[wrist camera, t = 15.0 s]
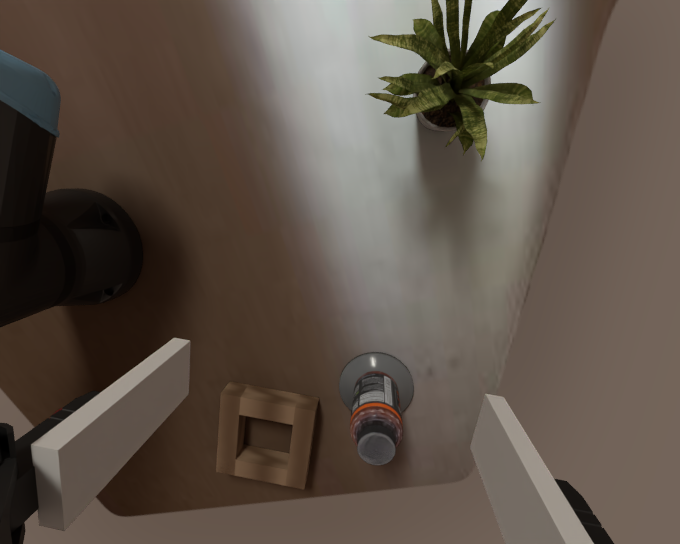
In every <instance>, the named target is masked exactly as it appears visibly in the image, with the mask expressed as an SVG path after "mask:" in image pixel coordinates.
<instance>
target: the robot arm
mask: <svg viewBox="0 0 680 544" xmlns="http://www.w3.org/2000/svg"><path fill="white" fill-rule="evenodd" d="M60 101H61V97H60V92H59V89H58V87H57V85H56V84H55V83H54V81H53V80H52V79H51V78H50V77H49V76H48V75H47V74H46V73H44V72H43V71H41V70H39V69H37V68H36V67H34V66H32V65H30V64H28V63H26V62H24V61H22V60H20V59H18V58H16V57H14V56H12V55H10V54H8V53H6V52H4V51H2V50H0V327H2V326H5V325H7V324H10V323H13V322H15V321H18V320H20V319H23V318H25V317H28V316H30V315H33V314H36V313H38V312H41V311H43V310H46V309H49V308H51V307H54V306H72V305H94V304H99V303H103V302H106V301H109V300H111V299H113V298H116V297H118V296H120V295H122V294H124V293H125V292H127V291H128V290H129V289H130V288H131V287H132V286H133V284H134V283H135V282H136V280H137V278H138V276H139V273H140V271H141V267H142V260H143V252H142V244H141V240H140V237H139V234H138V231H137V229H136V227H135V225H134V223H133V222H132V220H131V218H130V217H129V216H128V214H127V213H126V212H125V211H124V210H123V209H122V208H121V207H120V206H119V205H118V204H117V203H116V202H114V201H113V200H112V199H110V198H108V197H107V196H105V195H103V194H101V193H98V192H96V191H92V190H87V189H59V190H54V191H50V192H47V193H46V189H47V184H48V179H49V174H50V168H51V163H52V158H53V153H54V148H55V143H56V138H57V137H59V131H58V129H57V126H58V118H59V110H60ZM189 368H190V340H184V339H179V338H173V339H172V340H170V341H169V342H168V343H166V344H165V345H164V346H162V347H161V348H160V349H158V350H157V351H156V352H154V353H153V354H152V355H150V356H149V357H148V358H146V359H145V360H144V361H142V362H141V363H140V364H138V365H137V366H136V367H134V368H133V369H132V370H130V371H129V372H128V373H126V374H125V375H124V376H122V377H121V378H120V379H118V380H117V381H116V382H114V383H113V384H111V385H110V386H109V387H107V388H106V389H105V390H103V391H102V392H97V391H92V392H90V393H87V394H85V395H83V396H80V397H78V398H76V399H75V400H73V401H72V402H70V403H69V404H67V405H66V406H65V407H63V408H62V410H59V411H58V412H56V413H55V414H53V415H52V416H51V417H50V419H49V418H48V419H46V420H45V421H43V422H42V423H41V424H39V425H38V426H36V427H35V428H33V429H32V430H31V431H29V432H28V433H26V434H25V435H24V436H22V437H21V438H20V439H18V440H16V441H15V440H14V431H13V427H12V426H11V425H9V424H7V423H0V544H23V540H24V535H25V524H24V522H25V521H26V520H27V519H28V518H29V517H30V516H31V515H32V514H33V513H34V512H35V511H36V510H37V509H38V518H39V525H40V526H44V527H48V528H53V529H58V530H62V531H65V530H66V529H67V528H68V527H69V526H70V524H71V523H72V522H73V521H74V520H75V519H76V518H77V517H78V516H79V515H80V513H81V512H82V511H83V510H84V509H85V508H86V507H87V506H88V505H89V503H90V502H91V501H92V500H93V499H94V498H95V497H96V496H97V495H98V494H99V492H100V491H101V490H102V489H103V488H104V487H105V486H106V485H107V484H108V482H109V481H110V480H111V479H112V478H113V477H114V476H115V475H116V474H117V473H118V471H119V470H120V469H121V468H122V467H123V466H124V465H125V464H126V463H127V461H128V460H129V459H130V458H131V457H132V456H133V455H134V454H135V453H136V452H137V450H138V449H139V448H140V447H141V446H142V445H143V444H144V443H145V442H146V440H147V439H148V438H149V437H150V436H151V435H152V434H153V433H154V432H155V430H156V429H157V428H158V427H159V426H160V425H161V424H162V423H163V422H164V421H165V419H166V418H167V417H168V416H169V415H170V414H171V413H172V412H173V411H174V409H175V408H176V407H177V406H178V405H179V404H180V403H181V402H182V401H183V400H184V398H185V397H186V396H187V395H188V394H189ZM470 448H471V451H472V454H473V457H474V459H475V462H476V465H477V467H478V470H479V473H480V476H481V478H482V481H483V484H484V486H485V489H486V492H487V495H488V497H489V500H490V503H491V506H492V508H493V511H494V514H495V517H496V519H497V522H498V524H499V527H500V530H501V533H502V536H503V538H504V541H505V544H614V543H613V541H612V540H611V538H610V537H609V536H608V534H607V532H606V531H605V530H604V528H602V527H601V523H600V522H599V521H598V519H597V518H596V516H595V515H593V513H592V510H591V509H590V507H589V506H588V504H587V503H586V501H585V500H584V498H583V497H582V496H581V495H580V494H579V493H578V492H577V491H576V490H575V489H574V488H573V487H572V486H571V485H570V484H569V483H568V482H567V481H563V480H558V479H554V478H553V477H552V475H551V473H550V472H549V470H548V469H547V467H546V465H545V464H544V462H543V460H542V459H541V457H540V455H539V454H538V452H537V451H536V449H535V447H534V446H533V444H532V442H531V441H530V439H529V438H528V436H527V434H526V433H525V431H524V429H523V428H522V426H521V425H520V423H519V421H518V420H517V418H516V417H515V415H514V413H513V412H512V410H511V408H510V407H509V405H508V403H507V402H506V400H505V399H504V397H500V396H495V395H489V394H485V397H484V400H483V404H482V407H481V411H480V414H479V418H478V421H477V425H476V428H475V432H474V436H473V439H472V443H471V446H470Z"/></svg>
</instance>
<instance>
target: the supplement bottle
mask: <svg viewBox="0 0 680 544" xmlns="http://www.w3.org/2000/svg"><path fill="white" fill-rule="evenodd" d="M350 433H351V437H352V439H353V441H354V443H355V444H356V446H357V450H358V454H359V455H360V457H361V458H362V459H363V460H364V461H365V462H367V463H369V464H371V465H384V464H386V463H388V462H390V461H391V460H392V459H393V457H394V455H395V451H396V447H397V446H398V445H399V444H400V442H401V439H402V436H403V426H402V417H401V409H400V400H399V391H398V387H397V384H396V382H395V381H394V379H393V378H392V377H391V376H389V375H388V374H386V373H384V372H380V371H371V372H367V373H365V374H363V375H362V376H361V377H360V378H359V379H358V380H357V382H356V384H355V387H354V394H353V402H352V411H351V422H350Z"/></svg>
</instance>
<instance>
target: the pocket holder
mask: <svg viewBox="0 0 680 544" xmlns="http://www.w3.org/2000/svg"><path fill="white" fill-rule="evenodd" d="M318 402H319V398H317V397H312V396H307V395H301V394H296V393H291V392H285V391H280V390H274V389H269V388H264V387H258V386H253V385H248V384H242V383H237V382H232V381H230V382H229V383H228V385H227V386H226V387H225V389H224V390H223V391H222V393H221V399H220V415H219V432H218V448H217V465H216V472H220V473H225V474H230V475H235V476H240V477H245V478H250V479H255V480H259V481H264V482H269V483H274V484H279V485H284V486H289V487H294V488H299V489H305V484H306V480H307V476H308V471H309V464H310V457H311V450H312V443H313V436H314V429H315V422H316V416H317V409H318ZM246 416H249V417H254V418H259V419H265V420H270V421H275V422H280V423H285V424H291V425H293V429H292V437H291V445H290V453H285V452H280V451H275V450H270V449H265V448H259V447H254V446H249V445H244V433H245V422H246Z"/></svg>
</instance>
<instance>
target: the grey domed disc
mask: <svg viewBox="0 0 680 544" xmlns="http://www.w3.org/2000/svg"><path fill="white" fill-rule="evenodd" d="M371 371H380V372H384V373H386V374H388V375H389V376H391V377H392V378H393V379H394V381H395V382H396V384H397V387H398V391H399V400H400V409H401V412H403V411H404V410H405V409H406V408H407V406H408V405H409V403H410V402H411V399H412V396H413V391H414V386H413V380H412V377H411V374H410V372H409V370H408V369H407V367H406V366H405V365H404V364H403V363H402V362H401V361H400V360H398V359H397V358H395V357H393V356H391V355H388V354H385V353H379V352H371V353H366V354H362V355H359V356H357V357H355V358H354V359H352V360H351V361H350V362H349V363H348V364H347V365H346V366H345V368H344V369H343V371H342V374H341V377H340V383H339V390H340V395H341V397H342V400H343V402H344V403H345V405H346V406H347V407H348V408H349V409H350V410H351V411H352V402H353V394H354V387H355V384H356V382H357V380H358V379H359V378H360V377H361V376H362V375H363V374H365V373H367V372H371Z"/></svg>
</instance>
